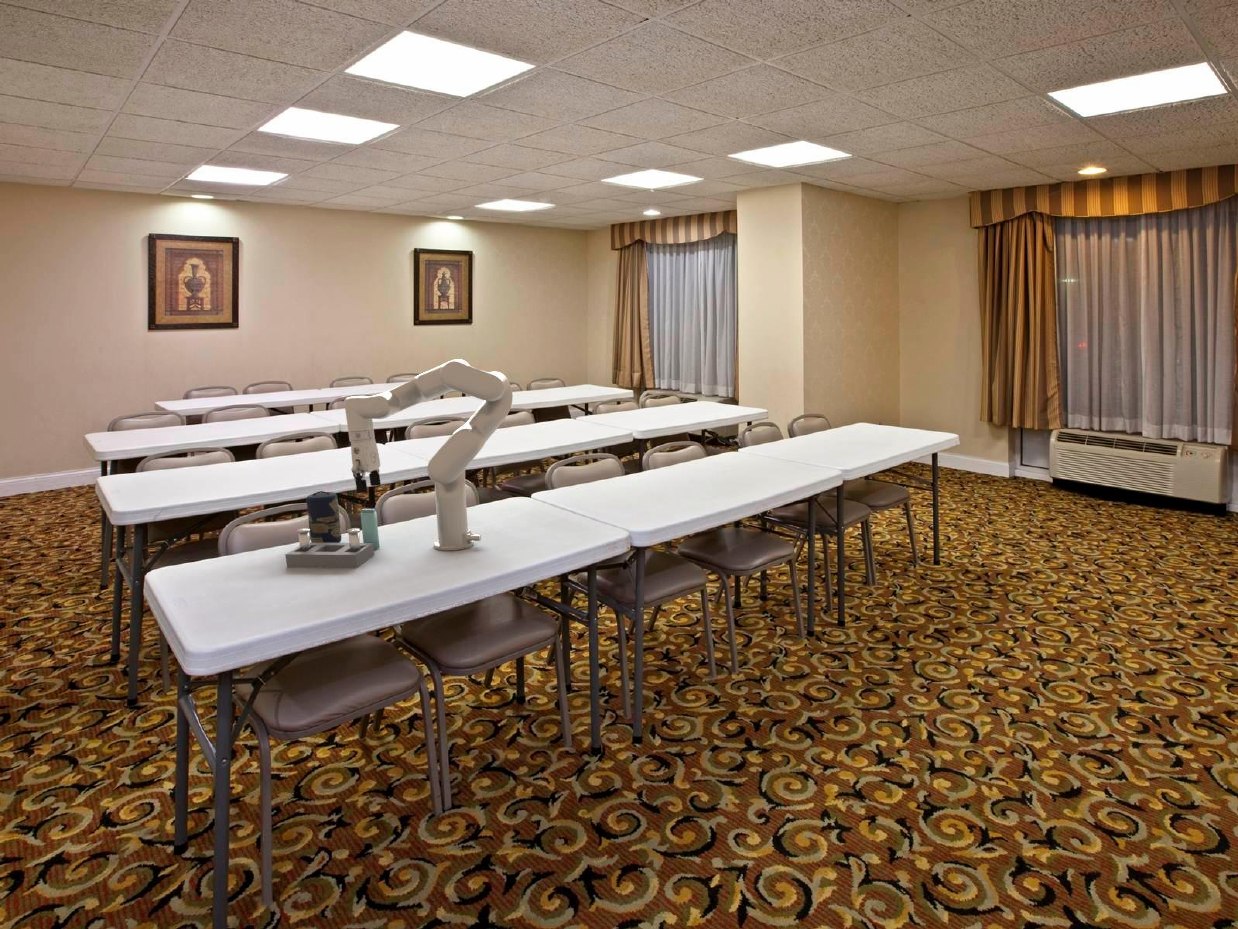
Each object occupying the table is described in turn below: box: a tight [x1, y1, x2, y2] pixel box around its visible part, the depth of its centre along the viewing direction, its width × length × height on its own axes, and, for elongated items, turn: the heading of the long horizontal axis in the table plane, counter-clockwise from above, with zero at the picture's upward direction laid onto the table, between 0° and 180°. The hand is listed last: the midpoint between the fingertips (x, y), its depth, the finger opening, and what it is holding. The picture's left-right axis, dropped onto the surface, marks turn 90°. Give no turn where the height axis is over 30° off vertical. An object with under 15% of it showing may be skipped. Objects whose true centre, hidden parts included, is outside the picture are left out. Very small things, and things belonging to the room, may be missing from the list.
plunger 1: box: [296, 527, 311, 552], centre depth 227 cm, size 4×4×9 cm
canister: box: [305, 490, 343, 543], centre depth 243 cm, size 10×10×18 cm
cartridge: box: [360, 508, 381, 551], centre depth 238 cm, size 5×5×13 cm
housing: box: [285, 542, 375, 569], centre depth 227 cm, size 22×12×4 cm, turn 84°
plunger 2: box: [346, 527, 361, 552], centre depth 225 cm, size 4×4×9 cm
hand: (369, 488), depth 235 cm, fingers open, 9 cm apart
